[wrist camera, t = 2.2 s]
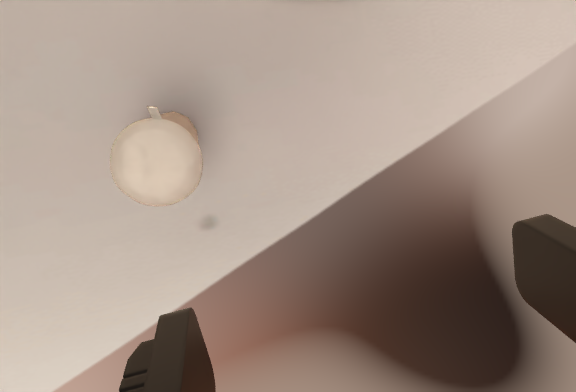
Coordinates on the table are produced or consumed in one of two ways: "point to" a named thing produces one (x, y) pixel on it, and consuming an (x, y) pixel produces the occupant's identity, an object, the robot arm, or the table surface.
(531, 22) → the table surface
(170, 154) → the milkshake
